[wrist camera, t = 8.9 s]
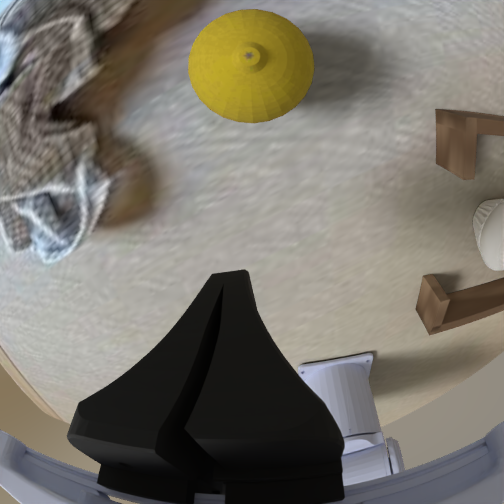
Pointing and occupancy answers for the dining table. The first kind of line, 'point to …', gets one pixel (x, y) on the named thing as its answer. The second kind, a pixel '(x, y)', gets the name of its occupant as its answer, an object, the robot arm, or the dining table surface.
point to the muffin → (490, 232)
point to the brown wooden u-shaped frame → (463, 165)
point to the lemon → (251, 66)
